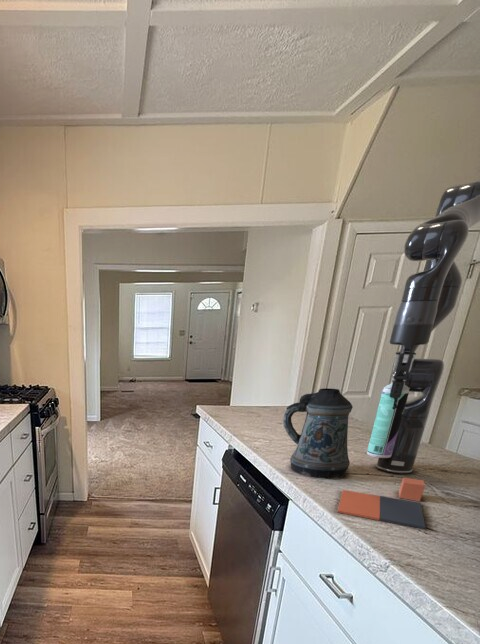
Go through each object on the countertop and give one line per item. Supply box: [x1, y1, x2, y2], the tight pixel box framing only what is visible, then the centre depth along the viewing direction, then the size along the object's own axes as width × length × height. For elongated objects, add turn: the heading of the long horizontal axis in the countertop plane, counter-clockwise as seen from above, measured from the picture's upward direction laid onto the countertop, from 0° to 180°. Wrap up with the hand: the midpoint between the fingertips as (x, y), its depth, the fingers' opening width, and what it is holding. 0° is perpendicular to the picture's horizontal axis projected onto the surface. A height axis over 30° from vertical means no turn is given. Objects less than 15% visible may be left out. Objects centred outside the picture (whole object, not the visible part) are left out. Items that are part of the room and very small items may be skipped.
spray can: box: [366, 381, 410, 459], centre depth 103 cm, size 6×6×20 cm
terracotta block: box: [398, 477, 426, 502], centre depth 105 cm, size 4×4×4 cm
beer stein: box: [282, 387, 354, 479], centre depth 122 cm, size 16×19×25 cm
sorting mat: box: [337, 489, 426, 530], centre depth 99 cm, size 16×17×1 cm
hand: (394, 395), depth 101 cm, fingers closed on spray can, 5 cm apart
